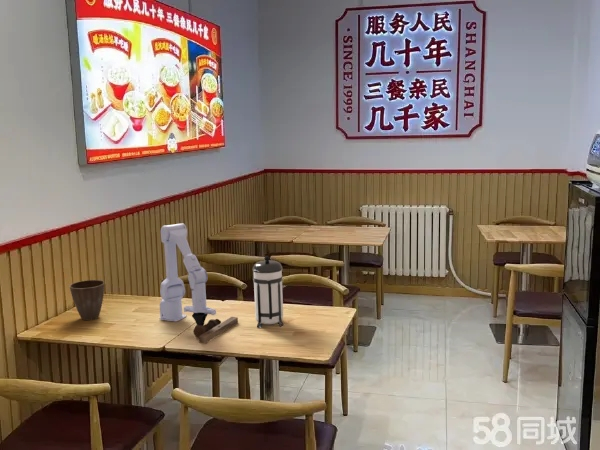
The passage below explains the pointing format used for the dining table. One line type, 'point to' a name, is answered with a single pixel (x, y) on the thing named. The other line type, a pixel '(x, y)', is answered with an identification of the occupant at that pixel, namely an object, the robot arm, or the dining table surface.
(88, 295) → the plant pot
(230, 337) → the dining table surface
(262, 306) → the coffee press
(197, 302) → the robot arm
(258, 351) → the dining table surface
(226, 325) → the batten
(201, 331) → the bolt
